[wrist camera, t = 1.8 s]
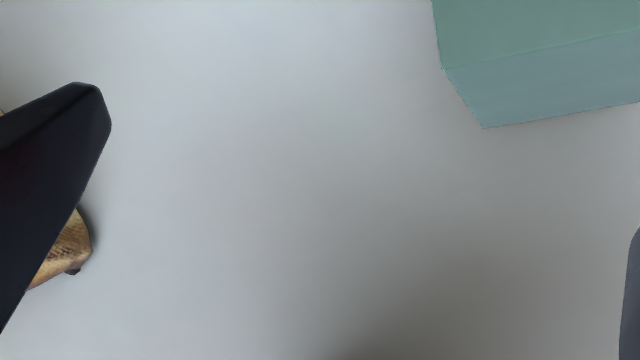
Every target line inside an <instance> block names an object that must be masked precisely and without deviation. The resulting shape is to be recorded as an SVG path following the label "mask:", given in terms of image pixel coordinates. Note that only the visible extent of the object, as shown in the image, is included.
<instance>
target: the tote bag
mask: <svg viewBox="0 0 640 360" xmlns="http://www.w3.org/2000/svg"><path fill="white" fill-rule="evenodd" d="M431 4H432V11H433V17H434V24H435V30H436V37H437V43H438V49H439V56H440V62H441V68H442V70H443V72H444V73H445V74H446V76H447V77H448V79H449V80H450V82H451V83H452V85H453V86H454V87H455V89H456V90H457V92H458V93H459V95H460V96H461V98H462V99H463V101H464V102H465V103H466V105H467V106H468V108H469V109H470V111H471V112H472V114H473V115H474V116H475V118H476V119H477V121H478V122H479V124H480V125H481V127H482V128H483V129H487V128H493V127H498V126H504V125H510V124H516V123H521V122H527V121H533V120H538V119H544V118H550V117H556V116H561V115H567V114H573V113H578V112H584V111H590V110H596V109H601V108H607V107H613V106H618V105H624V104H630V103H636V102H640V0H431Z"/></svg>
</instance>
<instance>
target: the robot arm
mask: <svg viewBox="0 0 640 360" xmlns="http://www.w3.org/2000/svg"><path fill="white" fill-rule="evenodd" d="M111 126H112V124H111V118H110V115H109V113H108V110H107V107H106V104H105V101H104V99H103V96H102V93H101V91H100V89H99V88H98V87H97V86H95V85H91V84H86V83H81V82H72V83H69V84H67V85H65V86H63V87H61V88H59V89H57V90H55V91H52V92H50V93H48V94H46V95H44V96H42V97H40V98H38V99H35V100H33V101H31V102H29V103H27V104H25V105H23V106H21V107H18V108H16V109H14V110H12V111H10V112H8V113H6V114H4V115H1V116H0V334H1V333H2V331H3V329H4V328H5V326H6V324H7V323H8V321H9V319H10V318H11V316H12V314H13V313H14V311H15V309H16V308H17V306H18V304H19V302H20V301H21V299H22V297H23V296H24V294H25V292H26V291H27V289H28V287H29V286H30V284H31V282H32V281H33V279H34V277H35V276H36V274H37V272H38V271H39V269H40V267H41V266H42V264H43V262H44V260H45V259H46V257H47V255H48V254H49V252H50V250H51V249H52V247H53V245H54V244H55V242H56V240H57V239H58V237H59V235H60V234H61V232H62V230H63V229H64V227H65V225H66V224H67V222H68V220H69V219H70V217H71V215H72V213H73V212H74V210H75V208H76V206H77V204H78V202H79V200H80V198H81V196H82V194H83V192H84V190H85V188H86V186H87V184H88V181H89V179H90V177H91V175H92V173H93V170H94V168H95V166H96V164H97V162H98V159H99V157H100V155H101V153H102V151H103V148H104V146H105V144H106V142H107V140H108V137H109V135H110V132H111ZM619 360H640V227H639V228H638V230H637V231H636V233H635V235H634V237H633V239H632V241H631V244H630V248H629V255H628V264H627V273H626V282H625V291H624V300H623V309H622V318H621V327H620V338H619Z"/></svg>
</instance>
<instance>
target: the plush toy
mask: <svg viewBox="0 0 640 360" xmlns="http://www.w3.org/2000/svg"><path fill="white" fill-rule="evenodd" d="M1 115H4V114H3V113H2V111H1V110H0V116H1ZM92 252H93V250H92V247H91V244H90V241H89V233H88V230H87V228H86V226H85V223H84V221H83V219H82V218H81V216H80V215H79V213H78V212H77V210H76V209H75V210H74V212H73V213H72V215H71V217H70V219H69V220H68V222H67V224H66V225H65V227H64V229H63V230H62V232H61V234H60V235H59V237H58V239H57V240H56V242H55V244H54V245H53V247H52V249H51V250H50V252H49V254H48V255H47V257H46V259H45V260H44V262H43V264H42V266H41V267H40V269H39V271H38V272H37V274H36V276H35V277H34V279H33V281H32V282H31V284H30V286H29V287H28V289H27V291H28V290H30V289H32V288H34V287H36V286H38V285H40V284H42V283H44V282H46V281H47V280H49V279H51V278H52V277H54V276H56V275H58V274H60V273H63V272H65V273H67V274H70V275H75V274H77V273H78V272H79V271H80V267H81V266H82V265H83V263H84V262H85V261H86V260H88V258H89V257H90V255H91V254H92Z"/></svg>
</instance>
